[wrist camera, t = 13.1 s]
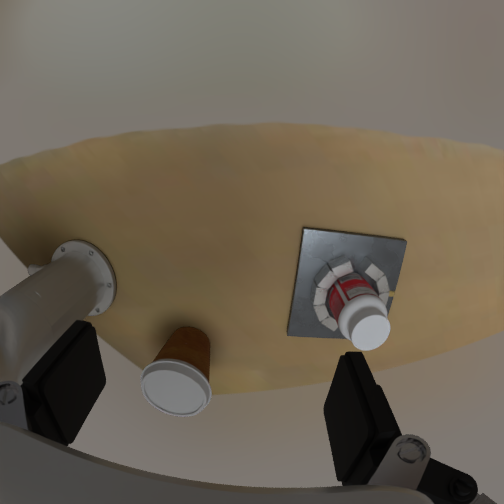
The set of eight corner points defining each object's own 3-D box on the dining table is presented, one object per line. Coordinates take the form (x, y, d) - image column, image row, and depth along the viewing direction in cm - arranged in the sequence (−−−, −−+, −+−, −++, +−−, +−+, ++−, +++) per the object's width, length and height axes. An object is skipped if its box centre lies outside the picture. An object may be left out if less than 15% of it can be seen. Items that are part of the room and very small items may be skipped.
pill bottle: (343, 318, 42) (364, 364, 32) (316, 292, 41) (333, 336, 31) (375, 289, 41) (405, 330, 30) (350, 261, 40) (378, 297, 29)
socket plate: (286, 331, 45) (288, 345, 41) (303, 226, 40) (307, 234, 36) (377, 335, 45) (385, 348, 41) (403, 239, 40) (415, 246, 36)
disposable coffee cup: (225, 325, 44) (215, 378, 33) (215, 371, 47) (205, 425, 36) (164, 310, 44) (137, 358, 33) (159, 358, 47) (138, 407, 36)
